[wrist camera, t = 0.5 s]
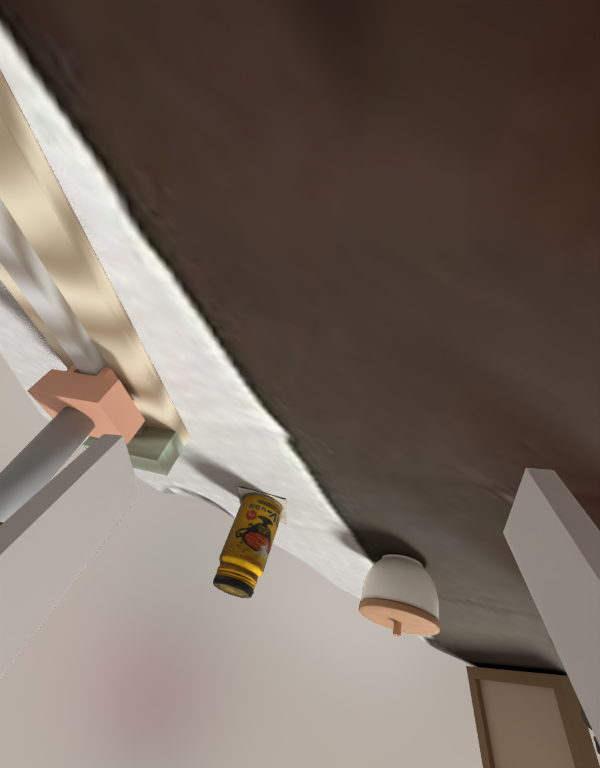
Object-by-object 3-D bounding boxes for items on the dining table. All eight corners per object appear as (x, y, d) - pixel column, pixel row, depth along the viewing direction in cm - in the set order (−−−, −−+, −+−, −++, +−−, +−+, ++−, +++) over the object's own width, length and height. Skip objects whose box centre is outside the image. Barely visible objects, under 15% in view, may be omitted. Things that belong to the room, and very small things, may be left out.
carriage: (60, 361, 35) (-110, 513, 24) (126, 370, 33) (-27, 541, 22) (90, 401, 39) (-43, 546, 28) (151, 412, 37) (32, 572, 26)
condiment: (286, 498, 48) (255, 593, 40) (286, 523, 55) (260, 609, 47) (237, 484, 50) (198, 574, 42) (242, 510, 56) (209, 592, 48)
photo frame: (466, 661, 84) (472, 818, 68) (557, 668, 69) (595, 876, 52) (509, 682, 87) (525, 838, 71) (606, 694, 72) (656, 898, 55)
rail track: (-148, 42, 21) (-275, 47, 17) (-27, 18, 18) (-145, 18, 14) (123, 424, 46) (95, 459, 42) (190, 436, 43) (166, 475, 40)
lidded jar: (355, 544, 53) (344, 614, 47) (429, 549, 47) (427, 630, 41) (380, 573, 59) (372, 639, 52) (448, 581, 53) (448, 656, 47)
